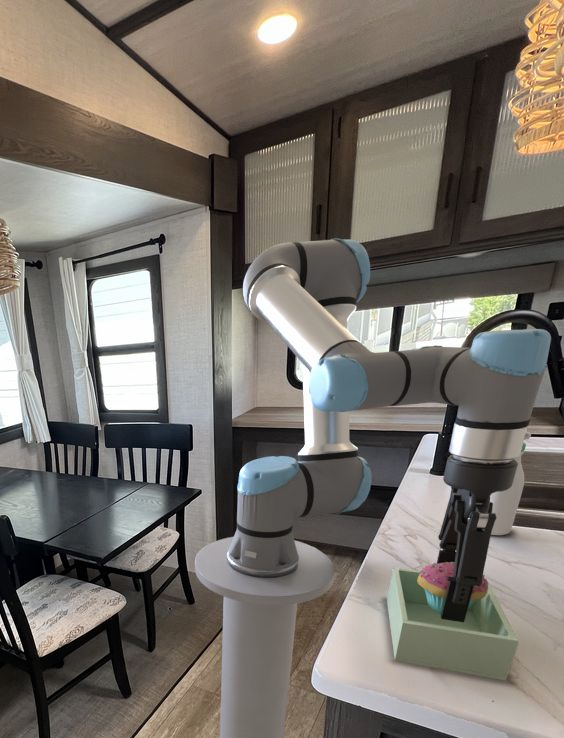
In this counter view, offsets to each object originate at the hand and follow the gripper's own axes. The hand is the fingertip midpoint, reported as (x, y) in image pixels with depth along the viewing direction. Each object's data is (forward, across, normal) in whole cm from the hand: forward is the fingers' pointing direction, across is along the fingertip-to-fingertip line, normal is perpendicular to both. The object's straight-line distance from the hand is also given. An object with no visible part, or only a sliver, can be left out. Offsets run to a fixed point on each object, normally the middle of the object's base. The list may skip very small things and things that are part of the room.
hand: (446, 603), depth 71 cm
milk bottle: (+6, +48, -16) cm, 51 cm away
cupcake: (+1, 0, 0) cm, 1 cm away
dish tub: (+6, 0, 0) cm, 6 cm away
